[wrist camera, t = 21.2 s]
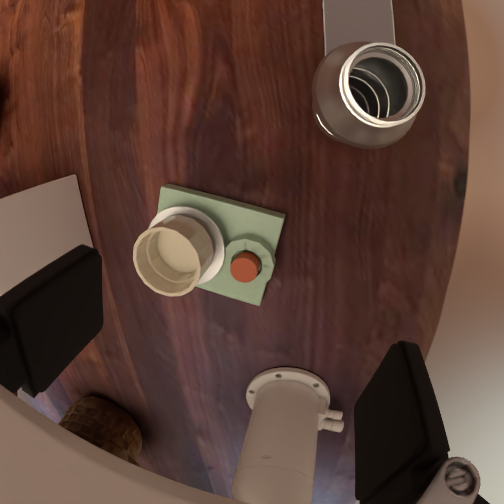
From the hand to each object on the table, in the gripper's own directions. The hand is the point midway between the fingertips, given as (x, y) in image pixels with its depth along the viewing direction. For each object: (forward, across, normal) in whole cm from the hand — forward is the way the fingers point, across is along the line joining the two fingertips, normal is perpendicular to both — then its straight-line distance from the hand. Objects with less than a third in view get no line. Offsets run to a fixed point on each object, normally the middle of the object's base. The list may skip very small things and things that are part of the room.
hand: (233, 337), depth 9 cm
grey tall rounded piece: (+26, -3, -9) cm, 28 cm away
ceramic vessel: (+26, +22, +55) cm, 65 cm away
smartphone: (+26, -3, -16) cm, 31 cm away
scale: (+26, +7, +9) cm, 29 cm away
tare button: (+23, +3, +9) cm, 25 cm away
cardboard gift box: (+26, +36, +15) cm, 47 cm away
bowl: (+22, +10, +9) cm, 26 cm away
